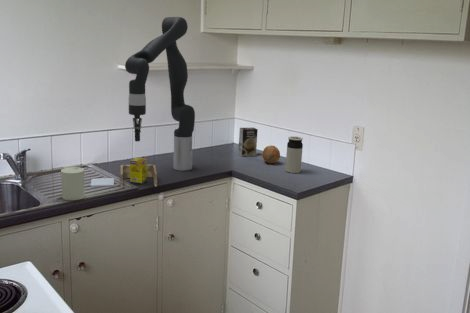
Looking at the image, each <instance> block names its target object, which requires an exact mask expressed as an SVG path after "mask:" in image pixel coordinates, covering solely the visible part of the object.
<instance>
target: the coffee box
mask: <svg viewBox="0 0 470 313" xmlns="http://www.w3.org/2000/svg"><path fill="white" fill-rule="evenodd" d="M238 134H239V135H238V136H239V137H238V147H237V148H238V149H237V150H238V151H237V154H238V155H239V156H240V157H241V156H242V157H243V156H248V157H256V156H257V142H258V129H257V128H255V127H239V133H238ZM243 158H244V157H243Z"/></svg>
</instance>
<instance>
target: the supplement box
mask: <svg viewBox="0 0 470 313" xmlns="http://www.w3.org/2000/svg"><path fill="white" fill-rule="evenodd" d="M129 165H130V178H129V183H130V184H134V185H143V184H144V183H146V182H147V178H148V177H147V165H148V162H147V158H142V157H134V158H132V159H130V160H129Z"/></svg>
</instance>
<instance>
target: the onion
mask: <svg viewBox="0 0 470 313" xmlns="http://www.w3.org/2000/svg"><path fill="white" fill-rule="evenodd" d="M261 156H262V159H263V160H264V162H265V163H268V164H275V163H277V162H278V161H279V160H280V159H281V158H280V157H281V152H280V149H279V148H278V147H277V146H275V145H267V146H265V148H264V149H263V150H262V155H261Z"/></svg>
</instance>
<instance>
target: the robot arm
mask: <svg viewBox="0 0 470 313" xmlns="http://www.w3.org/2000/svg"><path fill="white" fill-rule="evenodd" d="M188 28H189V27H188V22H187V20H186V19H185V18H184V17H181V16H165V17H164V18H163V20H162V22H161V31H162V34H161V35H159V36H157V37H156V38H153V39H152V40H150V41H149V42H148V43H147V44H146V45H145V46H144V47H143V48H142V49H141V50H139V51H137V52H136V53H134V54H132V55H130V56H129V57H128V58H127V59H126V61H125V64H124V67H125V71H126V72H127V73H129V74H132V75H136V76H135V79H131V80H130V81H128V82H129V83H128V92H129V93H128V115H132V116H133V117H132V123H133V129H134V141H135V142H140V141H141V131H142V130H141V129H142V122H143V121H142V120H143V118H142V117H141V116H144V115H146V114H147V99H146V96H147V95H146V83H147V80H148V76H149V71H150V65H149V64H151V63H153V62H155V60H156V59H157V58H159V56H160V55H161V54H162V53H163V52H164V51H165V53H166V60H167V61H166V62H167V70H168V78H169V88H170V108H171V109H170V110H171V111H170V112H171V117H172V118H173V120H174V121H177V122H179V123H178V127H177V128H175V130H174V131H173V164H172V166H173V169H174V170H175V171H182V172H183V171H184V172H186V171H190V170H193V154H194V153H193V132H194V130H195V124H196V123H195V122H196V120H195V119H196V111H195V109H194V107H193V106H191V105H190V104H186V103H185V97H184V96H185V95H184V92H185V88H186V86H187V82H188V76H189V75H188V65H187V62H186V60H185V58H184V56H183V54H182V53H181V51H180V50H179V48H178V45H177V41H178V40H179V39H181V38H182V37H184V36H185V35H186V34H187V32H188Z"/></svg>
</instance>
